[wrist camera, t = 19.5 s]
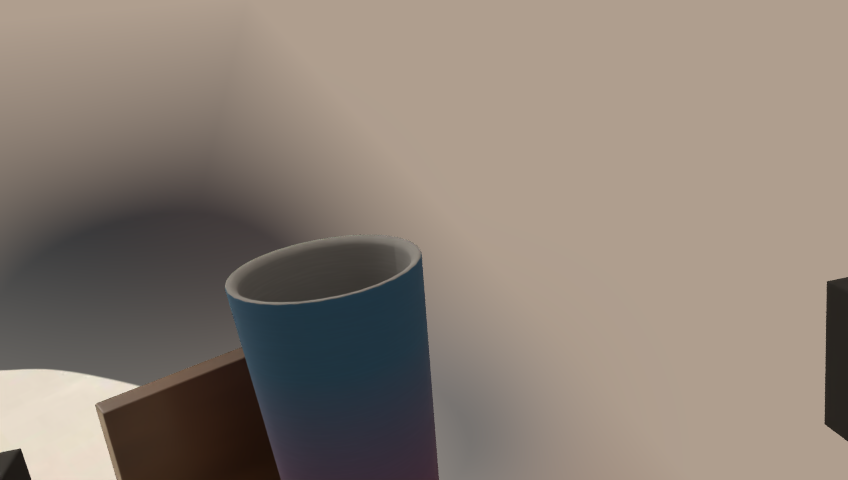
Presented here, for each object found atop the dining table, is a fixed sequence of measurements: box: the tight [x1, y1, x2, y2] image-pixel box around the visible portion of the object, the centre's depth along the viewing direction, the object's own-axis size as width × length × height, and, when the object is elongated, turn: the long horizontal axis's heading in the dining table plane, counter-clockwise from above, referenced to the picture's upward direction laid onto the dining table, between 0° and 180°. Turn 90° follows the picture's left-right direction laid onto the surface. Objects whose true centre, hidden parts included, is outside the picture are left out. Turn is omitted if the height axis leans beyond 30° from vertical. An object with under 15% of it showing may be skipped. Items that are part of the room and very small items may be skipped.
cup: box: [225, 235, 439, 480], centre depth 29 cm, size 7×7×15 cm
